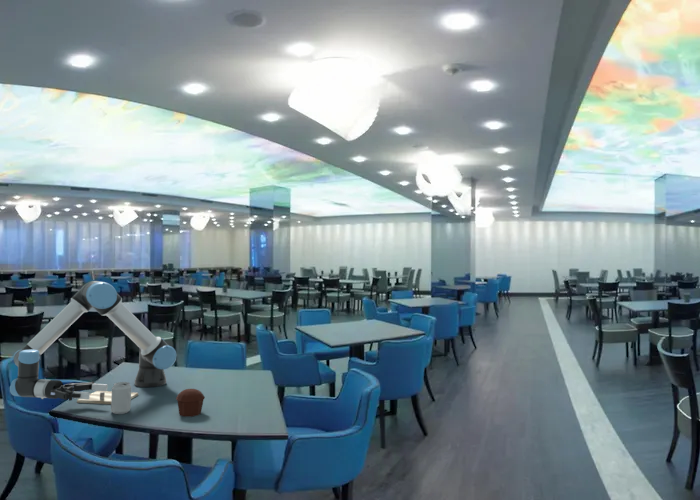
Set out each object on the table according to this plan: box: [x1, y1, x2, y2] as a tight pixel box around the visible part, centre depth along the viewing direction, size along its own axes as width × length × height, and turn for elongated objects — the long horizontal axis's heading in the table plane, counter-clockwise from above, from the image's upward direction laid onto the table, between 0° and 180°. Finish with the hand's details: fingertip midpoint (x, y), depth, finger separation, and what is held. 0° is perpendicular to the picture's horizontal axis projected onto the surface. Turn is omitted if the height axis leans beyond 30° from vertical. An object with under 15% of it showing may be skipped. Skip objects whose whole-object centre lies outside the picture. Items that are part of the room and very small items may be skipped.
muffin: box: [175, 388, 205, 418], centre depth 215 cm, size 12×11×10 cm
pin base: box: [76, 390, 139, 405], centre depth 233 cm, size 16×20×4 cm
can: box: [110, 381, 132, 415], centre depth 214 cm, size 8×8×12 cm
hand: (98, 391), depth 215 cm, fingers open, 13 cm apart
